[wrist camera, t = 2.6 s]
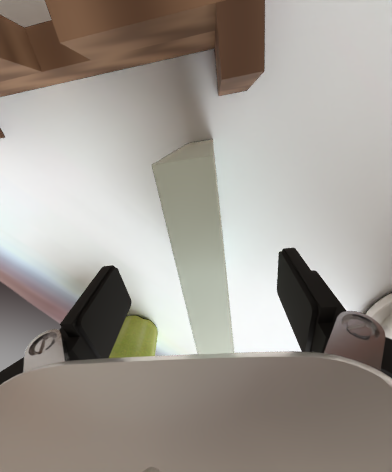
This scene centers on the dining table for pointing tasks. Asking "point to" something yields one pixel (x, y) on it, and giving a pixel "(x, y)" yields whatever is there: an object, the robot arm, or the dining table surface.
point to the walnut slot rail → (132, 40)
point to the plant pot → (135, 339)
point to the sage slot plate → (197, 241)
